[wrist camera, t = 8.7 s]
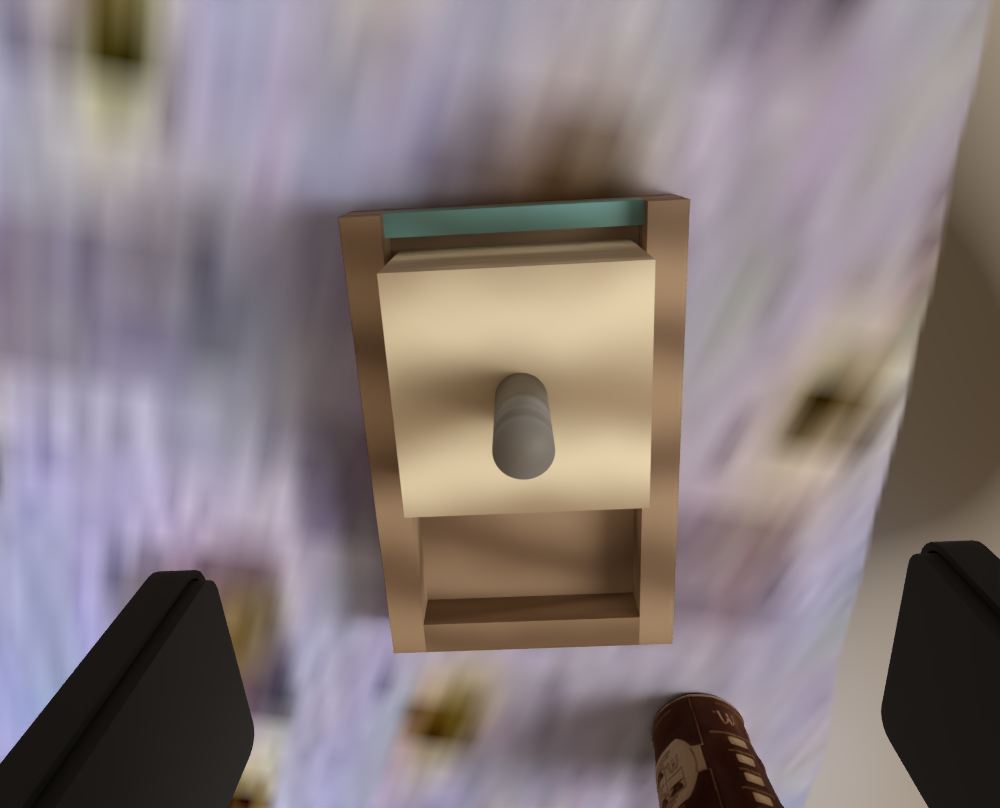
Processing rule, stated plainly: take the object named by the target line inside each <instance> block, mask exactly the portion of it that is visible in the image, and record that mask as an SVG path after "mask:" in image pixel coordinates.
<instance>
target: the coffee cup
mask: <svg viewBox="0 0 1000 808" xmlns="http://www.w3.org/2000/svg"><path fill="white" fill-rule="evenodd" d="M652 742H653V745H654V749H655V759H656V784H657V792H658V798H659V806H660V808H784V807H783V806H782V804H781V803H780V801H779V799H778V797H777V795H776V793H775V791H774V789H773V787H772V785H771V783H770V781H769V779H768V777H767V774H766V770H765V767H764V765H763V763H762V761H761V760H760V759H759V757H758V756H757V754H756V752H755V750H754V748H753V747H752V745H751V742H750V738H749V736H748V734H747V732H746V730H745V727H744V721H743V718H742V716H741V715H740V713H739V712H738V711H737V710H736V709H735V708H734V707H733V706H732V705H730V704H729V703H727V702H726V701H724V700H723V699H720V698H718V697H716V696H712V695H708V694H688V695H684V696H682V697H680V698H678V699H675V700H674V701H672V702H670V703H668V704H667V705H665V706H664V707H663V708H662V709H661V710H660V712H659V713H658V714H657V716H656V718H655V721H654V723H653V726H652Z"/></svg>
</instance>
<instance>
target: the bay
mask: <svg viewBox="0 0 1000 808" xmlns="http://www.w3.org/2000/svg"><path fill="white" fill-rule="evenodd" d="M689 211H690V199H687V198H684V197H681V196H678V195H675V194H674V195H656V196H637V197H618V198H599V199H580V200H561V201H543V202H524V203H505V204H486V205H467V206H448V207H430V208H411V209H392V210H373V211H354V212H350V213H348V214H346V215H344V216H341V217H339V218H338V221H339V228H340V236H341V244H342V252H343V260H344V267H345V275H346V283H347V291H348V299H349V307H350V314H351V322H352V330H353V338H354V346H355V353H356V361H357V369H358V377H359V385H360V392H361V400H362V408H363V416H364V424H365V432H366V439H367V447H368V455H369V463H370V471H371V478H372V486H373V494H374V502H375V510H376V517H377V525H378V533H379V541H380V549H381V556H382V564H383V572H384V580H385V588H386V596H387V603H388V611H389V619H390V627H391V635H392V642H393V650H394V653H413V652H442V651H471V650H500V649H529V648H558V647H588V646H617V645H646V644H672V641H673V615H674V590H675V565H676V539H677V514H678V489H679V464H680V438H681V413H682V388H683V363H684V337H685V312H686V287H687V262H688V236H689ZM612 239H631V240H632V241H633V242H634V243H636V244H637V245H638V246H639V247H641V248H642V249H643V250H644V251H645V252H647V253H648V254H649V255H650V256H652V257H653V258H654V259H655V260H656V261H655V302H654V344H653V386H652V428H651V469H650V508H636V509H611V510H586V511H561V512H536V513H511V514H486V515H461V516H436V517H412V518H404V510H403V501H402V492H401V483H400V474H399V466H398V457H397V448H396V439H395V430H394V421H393V412H392V403H391V395H390V386H389V377H388V368H387V359H386V350H385V341H384V332H383V323H382V315H381V306H380V297H379V288H378V279H377V273H378V272H379V271H380V270H381V269H382V268H383V267H384V266H385V265H386V264H387V263H388V262H389V261H390V260H391V259H392V258H393V257H394V256H395V255H396V254H397V253H398V252H399V251H400V250H417V249H436V248H456V247H475V246H495V245H514V244H534V243H553V242H573V241H592V240H612Z"/></svg>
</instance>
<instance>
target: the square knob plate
mask: <svg viewBox="0 0 1000 808" xmlns="http://www.w3.org/2000/svg"><path fill="white" fill-rule="evenodd" d="M655 261H656V260H655V259H654V258H653V257H652V256H650V255H649V254H648V253H647V252H645V251H644V250H643V249H642V248H641V247H639V246H638V245H637V244H636V243H634V242H633V241H632V240H631V239H612V240H592V241H573V242H553V243H534V244H514V245H495V246H475V247H456V248H436V249H417V250H400V251H399V252H398V253H397V254H396V255H395V256H394V257H393V258H392V259H391V260H390V261H389V262H388V263H387V264H386V265H385V266H384V267H383V268H382V269H381V270H380V271H379V272H378V273H377V279H378V288H379V297H380V306H381V315H382V323H383V332H384V341H385V350H386V359H387V368H388V377H389V386H390V395H391V403H392V412H393V421H394V430H395V439H396V448H397V457H398V466H399V474H400V483H401V492H402V501H403V510H404V518H412V517H436V516H461V515H486V514H511V513H536V512H561V511H586V510H611V509H636V508H650V469H651V428H652V386H653V344H654V302H655Z"/></svg>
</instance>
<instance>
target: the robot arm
mask: <svg viewBox="0 0 1000 808" xmlns="http://www.w3.org/2000/svg"><path fill="white" fill-rule="evenodd" d="M881 715H882V722H883V726H884V729H885V732H886V735H887V737H888V738H889V740H890V742H891V744H892V746H893V747H894V749H895V751H896V752H897V754H898V756H899V758H900V759H901V761H902V763H903V765H904V766H905V768H906V770H907V771H908V773H909V775H910V777H911V778H912V780H913V782H914V783H915V785H916V787H917V789H918V790H919V792H920V794H921V795H922V797H923V799H924V801H925V802H926V804H927V806H928V807H929V808H1000V559H999V558H998V557H997V556H995V555H994V554H993V553H992V552H991V551H990V550H989V549H988V548H987V547H986V546H985V545H983V544H982V543H980V542H978V541H973V540H971V541H945V542H930V543H927V544H926V545H925V546H924V547H923V549H922V551H921V554H915V555H913V556H912V557H911V558H910V560H909V564H908V568H907V574H906V579H905V584H904V590H903V595H902V601H901V606H900V611H899V616H898V622H897V627H896V632H895V637H894V643H893V648H892V654H891V659H890V664H889V669H888V675H887V680H886V686H885V691H884V696H883V701H882V708H881ZM253 742H254V725H253V720H252V717H251V713H250V709H249V705H248V702H247V698H246V694H245V690H244V687H243V683H242V679H241V675H240V671H239V668H238V664H237V660H236V656H235V653H234V649H233V645H232V641H231V637H230V634H229V630H228V626H227V622H226V619H225V615H224V611H223V607H222V604H221V600H220V596H219V592H218V589H217V586H216V584H215V583H214V582H213V581H211V580H205V578H204V576H203V575H202V573H201V572H200V571H197V570H186V571H160V572H155V573H153V574H152V575H150V576H149V577H148V578H147V580H146V581H145V582H144V583H143V585H142V586H141V587H140V588H139V590H138V591H137V592H136V594H135V595H134V596H133V597H132V599H131V600H130V601H129V602H128V604H127V605H126V606H125V607H124V609H123V610H122V611H121V612H120V614H119V615H118V616H117V617H116V619H115V620H114V621H113V622H112V624H111V625H110V626H109V628H108V629H107V630H106V631H105V633H104V634H103V635H102V636H101V638H100V639H99V640H98V641H97V643H96V644H95V645H94V646H93V648H92V649H91V650H90V651H89V653H88V654H87V655H86V656H85V658H84V659H83V660H82V662H81V663H80V664H79V665H78V667H77V668H76V669H75V670H74V672H73V673H72V674H71V675H70V677H69V678H68V679H67V680H66V682H65V683H64V684H63V685H62V687H61V688H60V689H59V691H58V692H57V693H56V694H55V696H54V697H53V698H52V699H51V701H50V702H49V703H48V704H47V706H46V707H45V708H44V709H43V711H42V712H41V713H40V714H39V716H38V717H37V718H36V719H35V721H34V722H33V723H32V725H31V726H30V727H29V728H28V730H27V731H26V732H25V733H24V735H23V736H22V737H21V738H20V740H19V741H18V742H17V743H16V745H15V746H14V747H13V748H12V750H11V751H10V752H9V753H8V755H7V756H6V757H5V759H4V760H3V761H2V762H1V764H0V808H228V807H229V804H230V802H231V799H232V797H233V795H234V792H235V790H236V787H237V785H238V783H239V780H240V778H241V775H242V773H243V771H244V768H245V766H246V764H247V761H248V759H249V756H250V754H251V751H252V747H253Z"/></svg>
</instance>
